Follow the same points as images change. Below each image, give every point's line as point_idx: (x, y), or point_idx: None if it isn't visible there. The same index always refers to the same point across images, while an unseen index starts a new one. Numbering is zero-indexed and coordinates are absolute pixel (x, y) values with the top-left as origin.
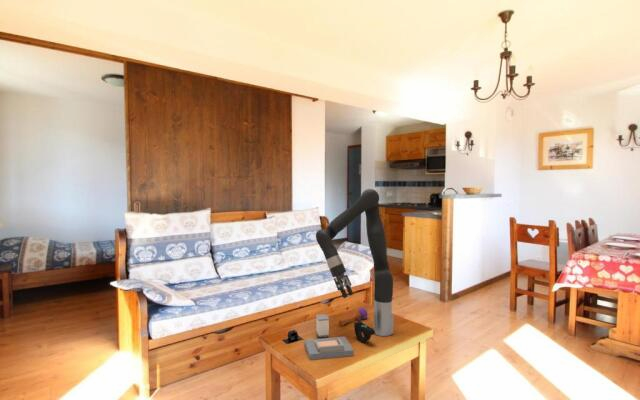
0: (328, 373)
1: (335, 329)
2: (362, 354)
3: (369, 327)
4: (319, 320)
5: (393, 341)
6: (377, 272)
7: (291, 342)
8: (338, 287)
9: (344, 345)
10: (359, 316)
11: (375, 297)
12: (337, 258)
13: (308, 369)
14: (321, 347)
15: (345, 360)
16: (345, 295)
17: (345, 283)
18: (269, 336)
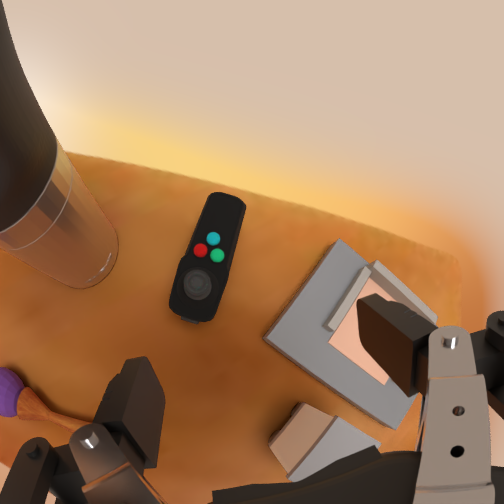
0: (437, 250)
1: (188, 441)
2: (301, 225)
3: (204, 220)
4: (375, 440)
5: (135, 182)
6: None
7: None
8: (500, 388)
9: (335, 287)
10: (30, 393)
11: (28, 182)
12: None
13: (457, 302)
14: (433, 313)
15: (370, 250)
16: (399, 303)
17: (290, 483)
18: None
